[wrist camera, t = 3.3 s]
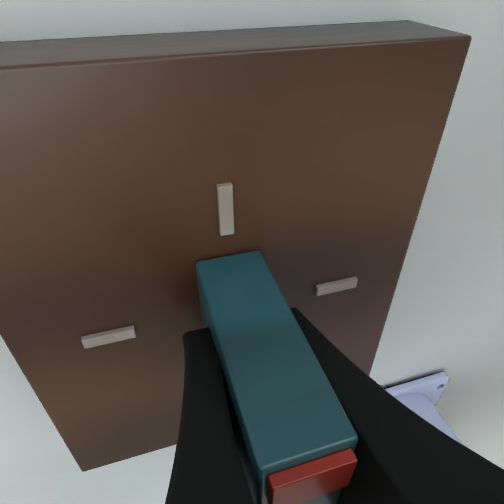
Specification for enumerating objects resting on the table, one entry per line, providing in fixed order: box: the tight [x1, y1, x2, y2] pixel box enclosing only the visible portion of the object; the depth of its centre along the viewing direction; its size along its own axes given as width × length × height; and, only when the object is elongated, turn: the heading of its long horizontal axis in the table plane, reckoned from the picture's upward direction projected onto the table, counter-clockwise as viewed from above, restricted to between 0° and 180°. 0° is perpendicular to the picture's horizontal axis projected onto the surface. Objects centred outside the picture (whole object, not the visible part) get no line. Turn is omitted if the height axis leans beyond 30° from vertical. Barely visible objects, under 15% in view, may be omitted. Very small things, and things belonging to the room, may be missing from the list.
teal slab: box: [196, 250, 358, 504], centre depth 10 cm, size 4×2×6 cm, turn 0°
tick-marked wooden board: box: [0, 20, 471, 471], centre depth 13 cm, size 14×12×3 cm
